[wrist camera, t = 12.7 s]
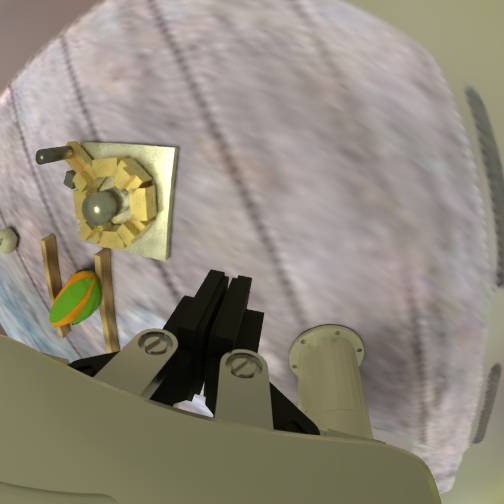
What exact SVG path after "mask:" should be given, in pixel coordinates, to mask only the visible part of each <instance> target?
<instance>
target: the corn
mask: <svg viewBox="0 0 504 504" xmlns="http://www.w3.org/2000/svg"><path fill="white" fill-rule="evenodd" d="M100 294H101V286H100V281H99V279H98V278H97V277H96V273H94V272H92V271H89V270H80V271H78V272H76V273H75V274H72V276H71V277H70V278H69V280H68V281H67V282H66V284H65V285H64V287H63V288H62V290H61V291H60V292H59V294H58V295H57V297H56V298H55V300H54V301H53V305H52V308H51V311H50V316H49V321H50V322H51V324H52V325H53V326H54V327H60V326H63V325H67V324H69V323H70V322H71V323H72V325H75V324H78V323H79V322H81V321H82V320H84V319H86V318H87V317H89V316H90V315H91V314H92V313H93V312H94V311H95V310H96V309H97V308H98V305H99V304H100V303H99V302H100V299H101V295H100Z"/></svg>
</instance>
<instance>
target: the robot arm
mask: <svg viewBox="0 0 504 504" xmlns="http://www.w3.org/2000/svg"><path fill="white" fill-rule="evenodd" d="M228 282H229V277H228V276H225V273H224V272H221V271H216V270H210V272H209V273H208V275H207V277H206V278H205V280H204V282H203V283H202V285H201V287H200V288H199V290H198V292H197V293H196V295H195V297H190V296H184V297H183V298H182V300H181V301H180V303H179V304H178V306H177V307H176V309H175V310H174V312H173V313H172V315H171V316H170V318H169V320H168V321H167V323H166V324H165V326H164V327H163V329H155V328H153V329H147V330H144V331H141V332H140V333H138V334H137V335H136V336H135V337H134V338H133V339H132V340H131V341H130V342H129V343H128V344H127V345H126V346H125V347H124V348H123V349H122V350H121V351H116V352H112V353H107V354H103V355H98V356H94V357H89V358H84V359H79V360H76V361H73V362H72V363H70V362H69V360H68V359H64V358H60V357H56V356H52V355H49V354H45V353H41V352H39V351H37V350H35V349H33V348H31V347H29V346H27V345H25V344H23V343H21V342H19V341H16V340H14V339H12V338H9V337H6V336H3V335H0V504H441V499H440V496H439V492H438V489H437V486H436V483H435V480H434V478H433V475H432V473H431V471H430V469H429V468H428V466H427V465H426V463H425V462H424V461H423V460H422V459H421V458H419V457H418V456H417V455H415V454H413V453H411V452H409V451H407V450H404V449H401V448H398V447H395V446H392V445H389V444H386V443H385V442H382V441H378V440H374V439H373V436H372V430H371V425H370V420H369V414H368V409H367V404H366V399H365V394H364V389H363V384H362V380H361V375H360V371H359V366H360V365H361V363H362V361H363V358H364V346H363V343H362V341H361V339H360V337H359V336H358V335H357V334H356V333H355V332H354V331H352V330H350V329H348V328H346V327H342V326H337V325H326V326H320V327H316V328H313V329H311V330H308V331H306V332H305V333H303V334H302V335H300V336H299V337H298V338H297V339H296V340H295V341H294V343H293V344H292V346H291V348H290V351H289V365H290V367H291V369H292V371H293V372H294V373H295V375H297V376H298V408H297V407H296V406H295V405H294V404H293V403H292V402H291V401H290V400H288V399H287V398H286V397H285V396H284V395H283V394H282V393H281V392H280V391H279V390H278V389H277V388H276V387H275V386H274V385H273V384H272V383H270V382H269V374H268V366H267V363H266V361H265V360H264V358H263V357H261V356H260V355H259V354H257V353H258V347H259V342H260V336H261V330H262V324H263V318H264V312H259V311H254V310H249V309H247V304H248V298H249V293H250V287H251V282H252V278H250V277H245V276H240V275H239V276H238V278H232V280H231V283H230V285H229V288H228ZM227 289H228V290H227ZM204 381H205V383H204ZM203 384H204V396H205V397H206V401H205V405H206V406H207V407H208V409H209V410H210V411H211V412H212V414H213V418H212V417H208V416H204V415H200V414H196V413H192V412H189V411H185V410H182V409H178V403H179V402H182V401H185V400H188V401H191V402H192V399H193V397H194V394H197V395H200V393H201V390H202V387H203Z"/></svg>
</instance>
